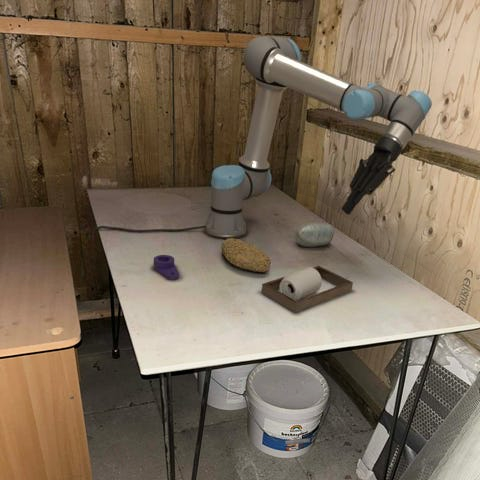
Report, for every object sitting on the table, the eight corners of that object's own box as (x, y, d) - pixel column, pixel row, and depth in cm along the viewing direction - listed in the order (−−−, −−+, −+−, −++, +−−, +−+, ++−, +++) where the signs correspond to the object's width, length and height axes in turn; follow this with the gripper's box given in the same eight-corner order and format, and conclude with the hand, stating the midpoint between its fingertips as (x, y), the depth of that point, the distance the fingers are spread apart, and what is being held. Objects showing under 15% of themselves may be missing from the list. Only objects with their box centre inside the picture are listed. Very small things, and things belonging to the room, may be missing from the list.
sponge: (216, 258, 161) (232, 271, 143) (220, 235, 159) (237, 245, 141) (252, 262, 166) (272, 276, 148) (257, 240, 164) (277, 251, 146)
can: (327, 285, 138) (302, 297, 130) (310, 294, 144) (285, 306, 136) (315, 262, 138) (289, 273, 131) (299, 272, 144) (273, 283, 136)
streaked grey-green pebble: (327, 229, 179) (329, 211, 170) (336, 249, 174) (339, 231, 166) (292, 238, 178) (293, 220, 169) (300, 258, 173) (301, 240, 165)
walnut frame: (295, 313, 130) (296, 303, 129) (261, 292, 139) (262, 283, 138) (351, 291, 144) (353, 282, 142) (317, 274, 153) (318, 265, 151)
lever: (151, 265, 150) (150, 256, 149) (169, 262, 153) (169, 253, 151) (165, 281, 141) (165, 272, 140) (184, 278, 144) (184, 268, 143)
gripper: (414, 153, 135) (367, 223, 137) (382, 149, 146) (338, 214, 147) (402, 136, 131) (353, 209, 132) (369, 133, 141) (324, 200, 143)
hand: (345, 211), depth 140 cm, fingers closed
